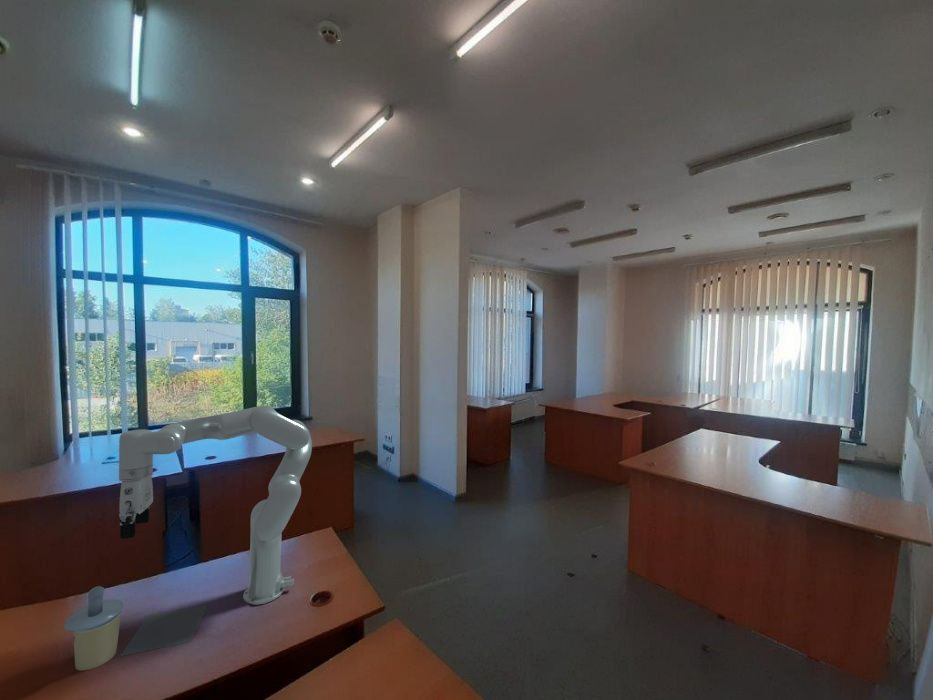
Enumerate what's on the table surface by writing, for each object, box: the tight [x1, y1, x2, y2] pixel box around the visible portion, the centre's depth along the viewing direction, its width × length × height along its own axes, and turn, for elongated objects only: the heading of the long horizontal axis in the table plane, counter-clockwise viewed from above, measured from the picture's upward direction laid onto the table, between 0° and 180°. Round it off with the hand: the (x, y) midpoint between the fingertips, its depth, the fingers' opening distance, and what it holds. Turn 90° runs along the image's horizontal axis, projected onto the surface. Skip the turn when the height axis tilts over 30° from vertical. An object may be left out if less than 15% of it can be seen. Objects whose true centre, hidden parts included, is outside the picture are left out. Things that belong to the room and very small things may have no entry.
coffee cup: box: [72, 610, 123, 671], centre depth 99 cm, size 9×9×12 cm
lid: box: [64, 585, 124, 632], centre depth 99 cm, size 11×11×8 cm
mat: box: [119, 604, 209, 657], centre depth 110 cm, size 16×16×1 cm
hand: (135, 529), depth 110 cm, fingers open, 9 cm apart
